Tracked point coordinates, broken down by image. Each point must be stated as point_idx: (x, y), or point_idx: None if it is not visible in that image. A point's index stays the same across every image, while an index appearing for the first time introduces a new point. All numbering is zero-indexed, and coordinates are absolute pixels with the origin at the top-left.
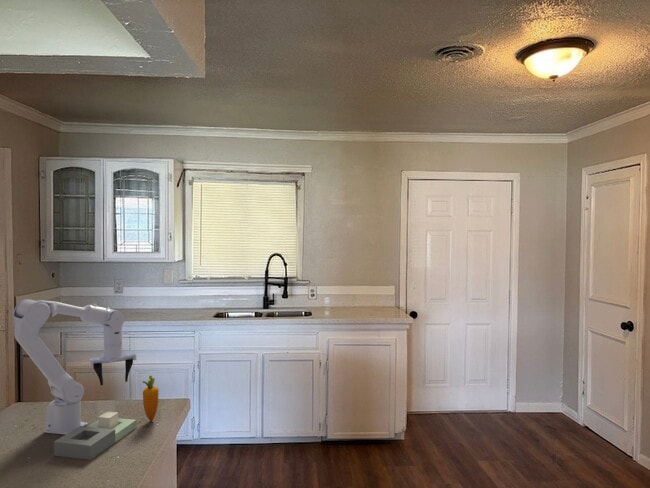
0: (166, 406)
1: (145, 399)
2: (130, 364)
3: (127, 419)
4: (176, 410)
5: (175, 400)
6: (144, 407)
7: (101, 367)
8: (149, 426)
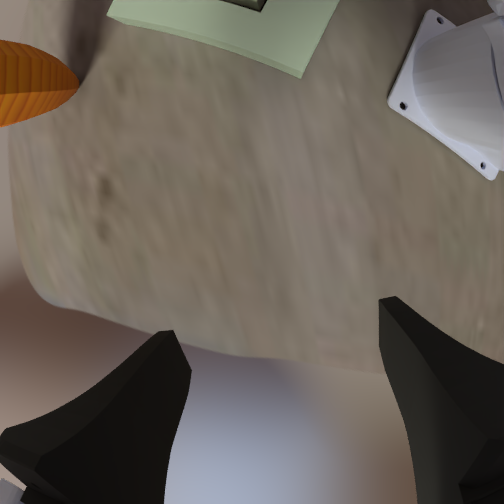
0: (63, 242)
1: (6, 43)
2: (13, 435)
3: (149, 17)
4: (21, 192)
5: (56, 293)
6: (49, 60)
7: (467, 457)
8: (77, 37)
